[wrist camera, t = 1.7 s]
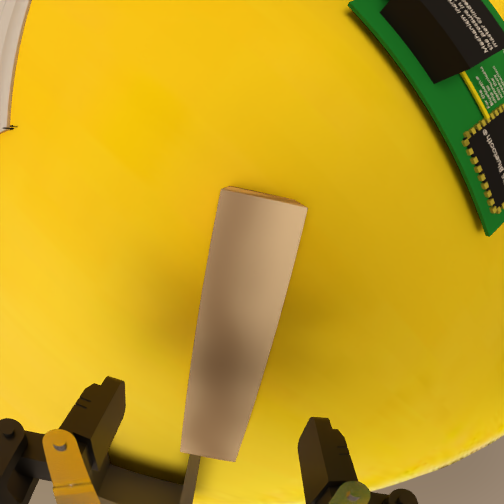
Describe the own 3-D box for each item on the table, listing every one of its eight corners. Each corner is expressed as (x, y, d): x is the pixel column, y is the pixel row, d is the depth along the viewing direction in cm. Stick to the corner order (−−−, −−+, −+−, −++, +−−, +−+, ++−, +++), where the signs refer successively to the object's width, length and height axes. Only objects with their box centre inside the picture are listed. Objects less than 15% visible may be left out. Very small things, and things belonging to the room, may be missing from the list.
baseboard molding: (85, -95, 10) (11, -55, 10) (77, -107, 7) (0, -62, 7) (24, 126, 17) (-45, 157, 18) (1, 124, 14) (-64, 159, 15)
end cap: (201, 450, 24) (189, 518, 16) (194, 490, 26) (184, 545, 18) (93, 419, 23) (61, 476, 16) (103, 465, 25) (82, 514, 18)
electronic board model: (601, 150, 10) (537, 254, 12) (552, 148, 16) (476, 232, 19) (392, -132, 4) (243, -123, 6) (373, -95, 11) (246, -68, 13)
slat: (294, 199, 18) (307, 208, 14) (238, 417, 23) (235, 461, 18) (230, 185, 18) (220, 189, 13) (191, 408, 23) (180, 451, 18)
